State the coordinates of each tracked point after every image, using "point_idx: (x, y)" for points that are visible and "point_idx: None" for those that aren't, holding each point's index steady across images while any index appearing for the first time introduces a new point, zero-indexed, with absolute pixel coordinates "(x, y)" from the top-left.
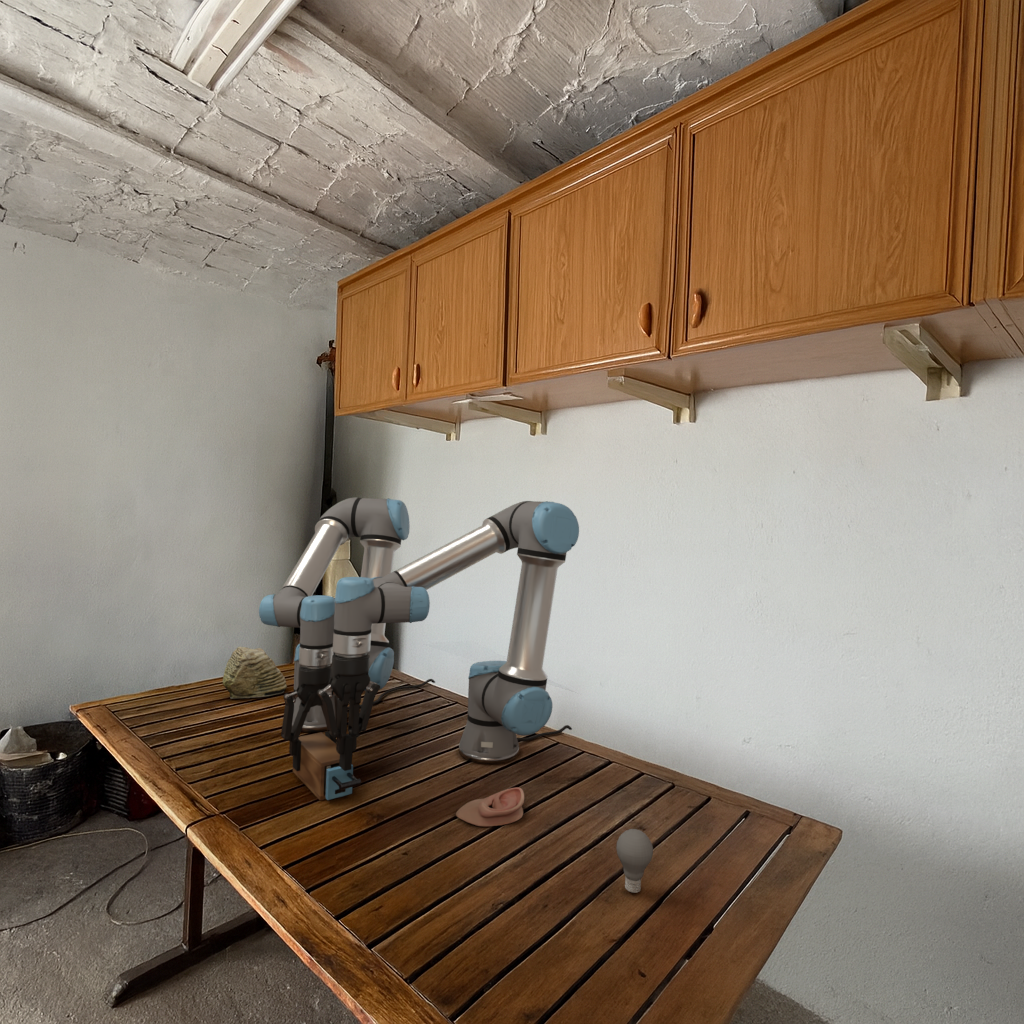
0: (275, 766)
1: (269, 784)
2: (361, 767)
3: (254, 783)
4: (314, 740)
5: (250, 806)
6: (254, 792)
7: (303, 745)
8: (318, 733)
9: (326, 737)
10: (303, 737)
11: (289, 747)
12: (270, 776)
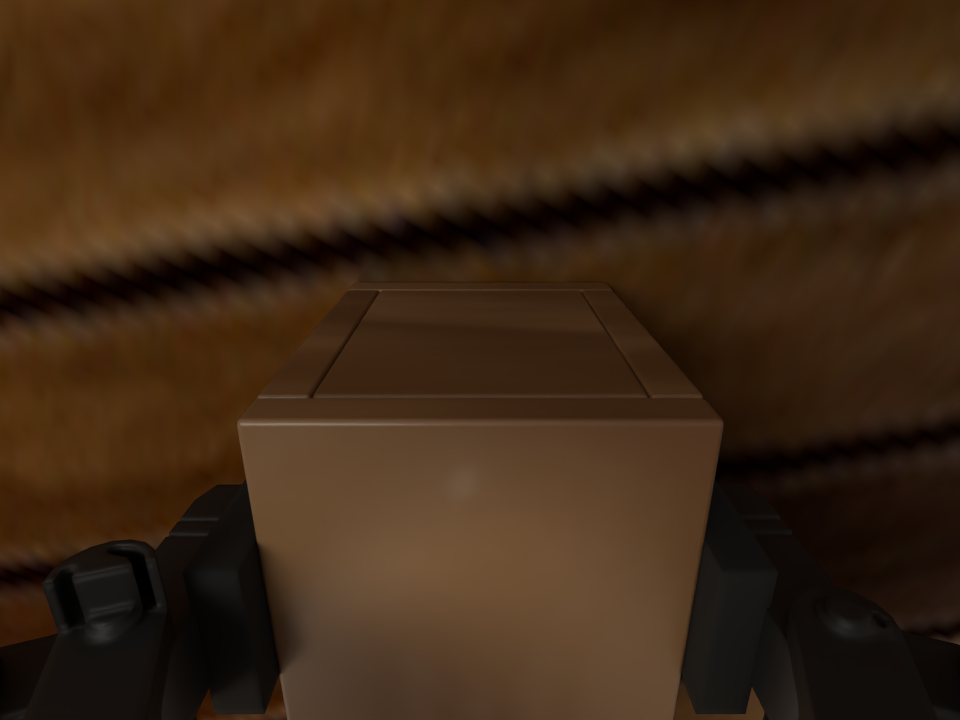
0: (239, 68)
1: (143, 401)
2: (842, 478)
3: (32, 327)
4: (479, 645)
5: (6, 613)
6: (31, 464)
7: (296, 713)
8: (648, 451)
9: (666, 634)
10: (375, 488)
11: (167, 540)
12: (166, 267)
